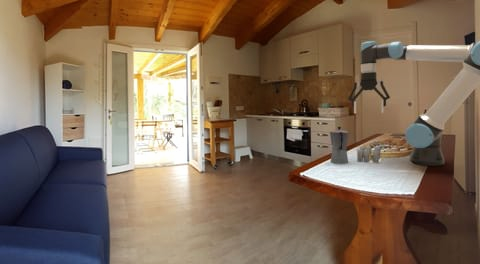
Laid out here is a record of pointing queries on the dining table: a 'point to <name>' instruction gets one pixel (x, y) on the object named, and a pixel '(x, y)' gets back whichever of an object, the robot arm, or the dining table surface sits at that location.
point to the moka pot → (339, 146)
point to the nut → (369, 156)
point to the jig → (366, 154)
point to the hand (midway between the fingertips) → (368, 113)
